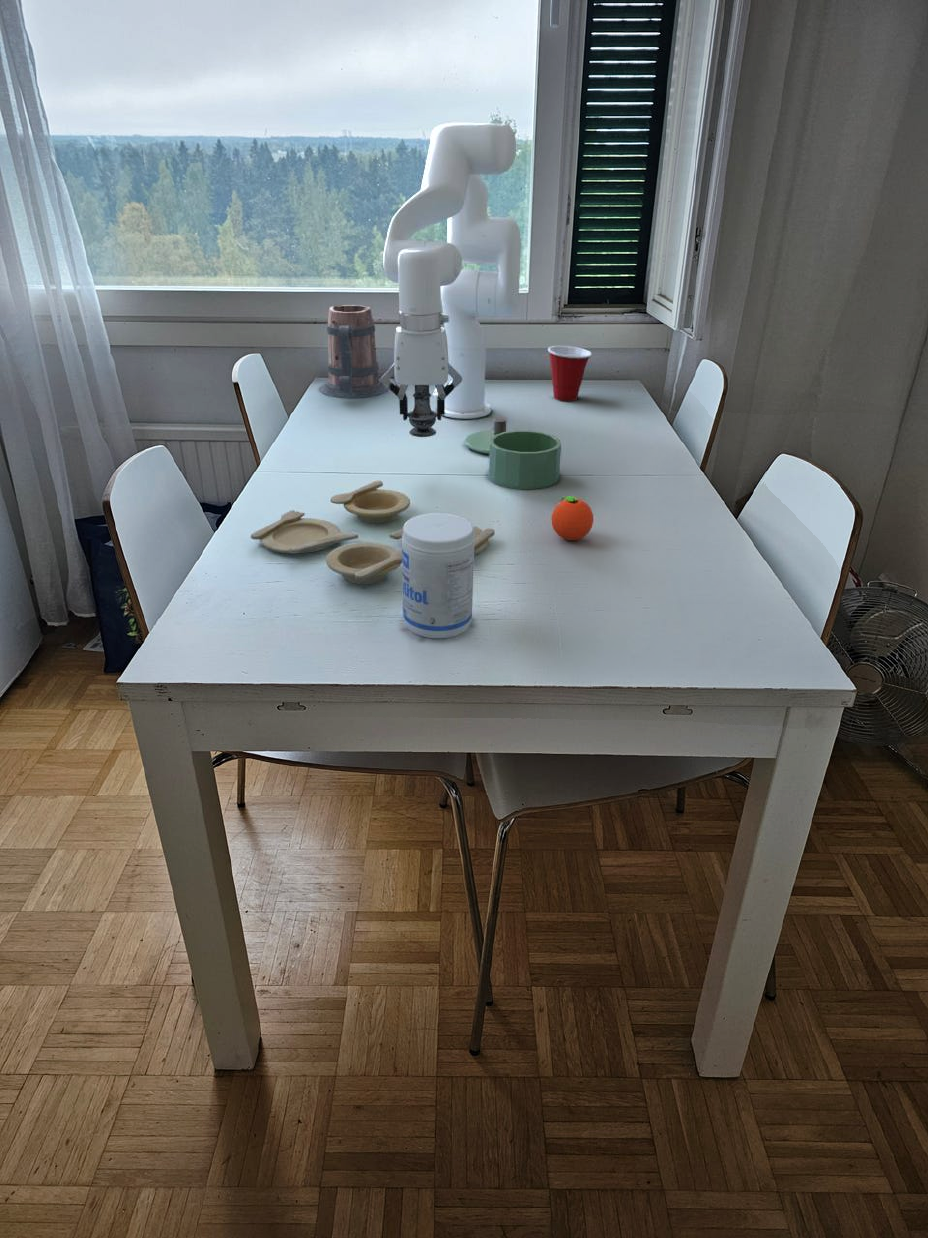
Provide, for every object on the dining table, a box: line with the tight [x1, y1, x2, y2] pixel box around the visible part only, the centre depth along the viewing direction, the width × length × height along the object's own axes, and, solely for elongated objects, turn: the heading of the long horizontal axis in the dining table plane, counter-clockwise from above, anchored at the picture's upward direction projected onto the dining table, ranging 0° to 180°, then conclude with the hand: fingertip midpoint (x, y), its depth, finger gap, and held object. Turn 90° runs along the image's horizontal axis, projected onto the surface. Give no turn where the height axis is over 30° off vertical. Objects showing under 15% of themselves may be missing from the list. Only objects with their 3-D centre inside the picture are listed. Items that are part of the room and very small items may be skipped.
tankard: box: [320, 304, 388, 399], centre depth 216 cm, size 24×17×20 cm
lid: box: [464, 417, 510, 455], centre depth 185 cm, size 15×15×6 cm
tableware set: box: [250, 480, 496, 585], centre depth 142 cm, size 35×29×4 cm
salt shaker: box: [407, 385, 437, 438], centre depth 166 cm, size 6×6×12 cm
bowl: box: [488, 430, 562, 490], centre depth 168 cm, size 14×14×7 cm
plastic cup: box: [547, 345, 592, 402], centre depth 216 cm, size 11×11×12 cm
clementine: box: [550, 495, 594, 541], centre depth 144 cm, size 8×7×7 cm
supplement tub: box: [401, 512, 475, 639], centre depth 117 cm, size 10×10×15 cm
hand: (422, 417), depth 168 cm, fingers closed on salt shaker, 5 cm apart
